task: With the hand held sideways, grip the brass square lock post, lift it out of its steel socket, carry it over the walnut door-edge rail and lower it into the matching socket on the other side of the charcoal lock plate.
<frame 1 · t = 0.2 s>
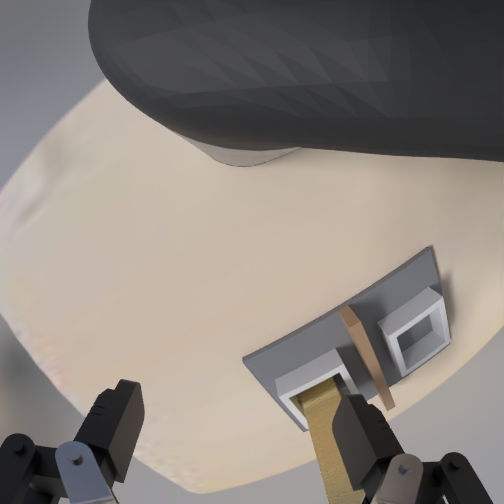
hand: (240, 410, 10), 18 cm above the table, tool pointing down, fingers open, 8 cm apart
lock post: (317, 383, 30), point 1 cm above the table, touching lock plate
lock plate: (363, 353, 31), on the table
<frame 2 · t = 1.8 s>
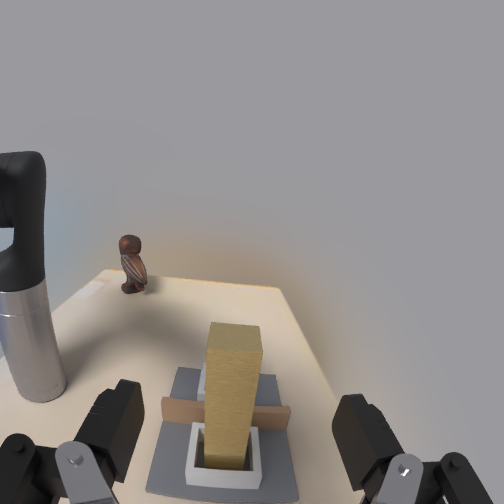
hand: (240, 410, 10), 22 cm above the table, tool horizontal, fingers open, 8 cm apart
figurine: (134, 291, 72), on the table
lock post: (223, 462, 25), point 1 cm above the table, touching lock plate
lock plate: (224, 428, 32), on the table
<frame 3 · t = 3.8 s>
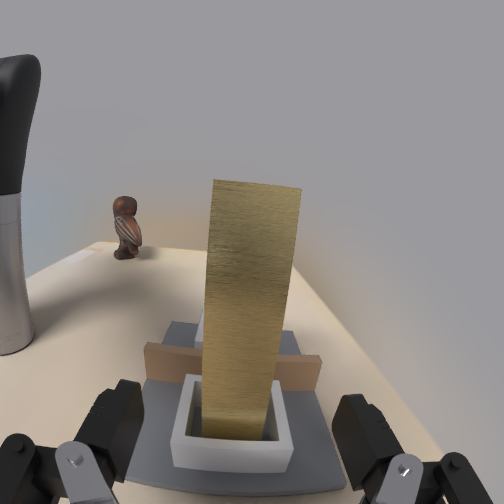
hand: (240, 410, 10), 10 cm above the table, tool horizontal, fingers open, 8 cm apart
figurine: (127, 258, 65), on the table
lock post: (230, 434, 18), point 1 cm above the table, touching lock plate
lock plate: (230, 391, 25), on the table
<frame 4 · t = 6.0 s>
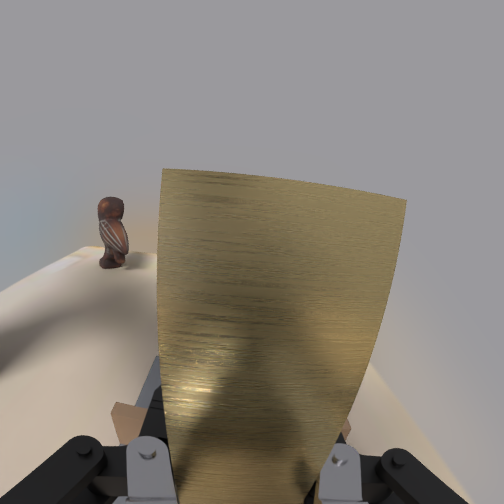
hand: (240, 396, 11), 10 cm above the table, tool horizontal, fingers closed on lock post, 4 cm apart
figurine: (114, 267, 56), on the table
lock plate: (228, 459, 17), on the table
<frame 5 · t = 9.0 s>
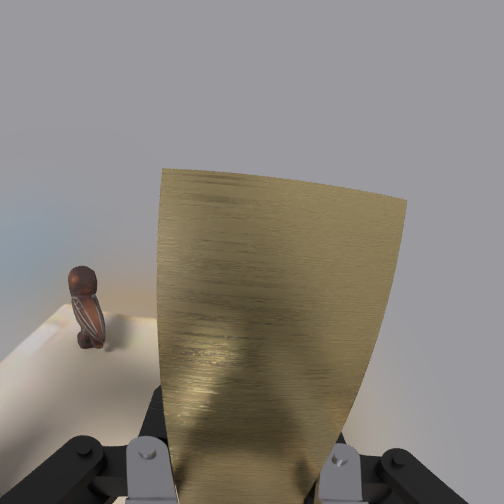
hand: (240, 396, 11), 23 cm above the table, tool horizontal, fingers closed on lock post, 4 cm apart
figurine: (93, 344, 47), on the table
when the fingers open (12 cm above the table, at t = 12.0 s): lock post drops 1 cm, resting on lock plate.
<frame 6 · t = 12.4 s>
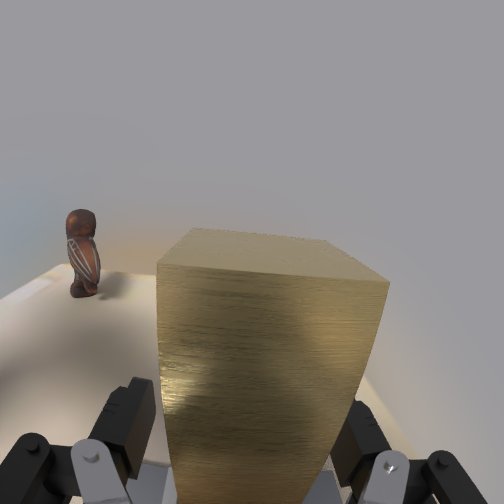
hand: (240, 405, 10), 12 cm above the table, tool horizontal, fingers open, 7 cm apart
figurine: (87, 295, 44), on the table
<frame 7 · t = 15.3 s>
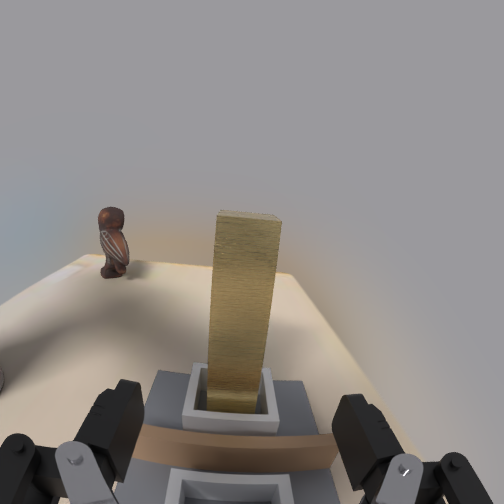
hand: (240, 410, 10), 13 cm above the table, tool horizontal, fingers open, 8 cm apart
figurine: (115, 276, 57), on the table
lock post: (229, 413, 23), point 1 cm above the table, touching lock plate
lock plate: (228, 470, 17), on the table
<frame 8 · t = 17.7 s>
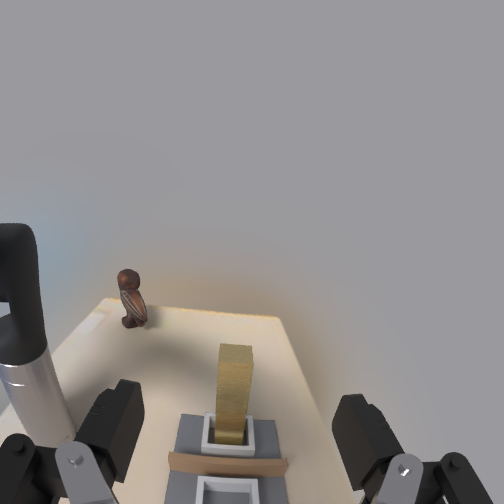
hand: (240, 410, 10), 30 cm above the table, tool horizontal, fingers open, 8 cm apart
figurine: (134, 325, 71), on the table
lock post: (227, 442, 37), point 1 cm above the table, touching lock plate
lock plate: (226, 475, 31), on the table
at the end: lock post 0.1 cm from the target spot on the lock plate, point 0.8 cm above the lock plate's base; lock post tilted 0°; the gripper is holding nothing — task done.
